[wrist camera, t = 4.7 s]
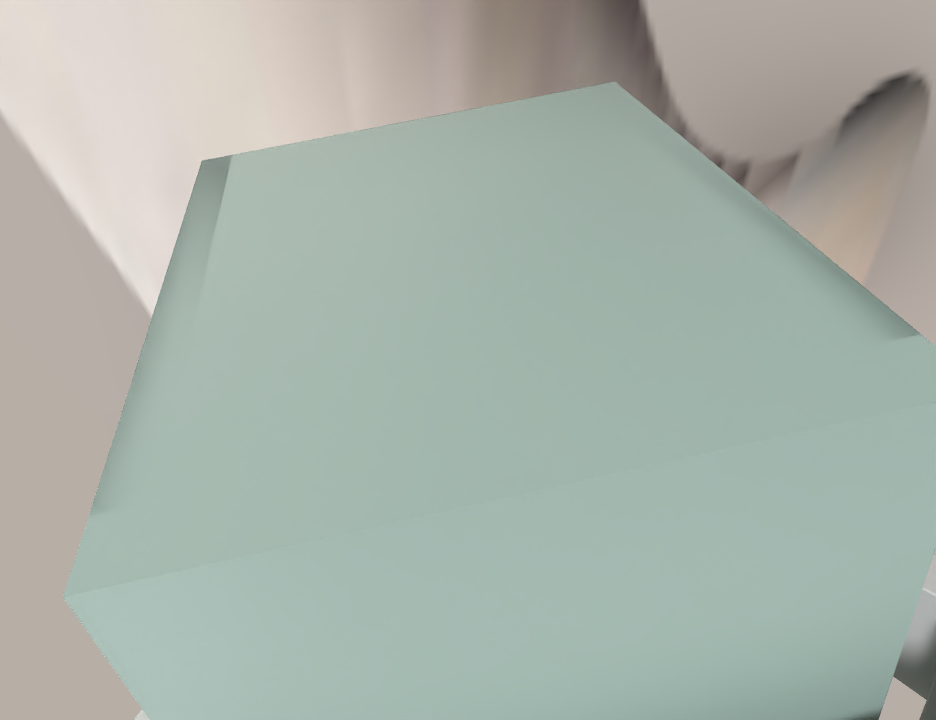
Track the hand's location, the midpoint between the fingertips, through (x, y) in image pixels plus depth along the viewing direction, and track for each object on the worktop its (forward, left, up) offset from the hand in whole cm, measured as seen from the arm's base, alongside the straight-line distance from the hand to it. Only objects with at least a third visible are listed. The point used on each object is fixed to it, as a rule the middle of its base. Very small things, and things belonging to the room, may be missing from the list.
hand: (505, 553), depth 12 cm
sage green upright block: (0, 0, -5) cm, 5 cm away
